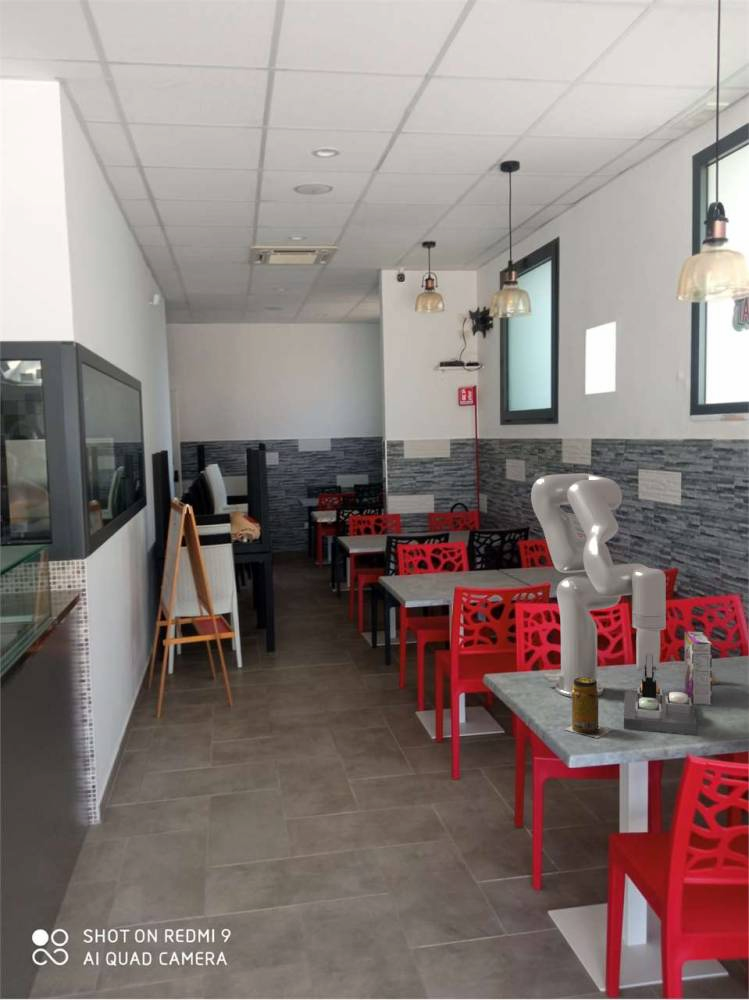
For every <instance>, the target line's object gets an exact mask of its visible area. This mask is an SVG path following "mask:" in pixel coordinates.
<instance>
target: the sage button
mask: <svg viewBox="0 0 749 1000" xmlns="http://www.w3.org/2000/svg"><path fill="white" fill-rule="evenodd" d="M639 709H644V710H656V711H657V710H658V701H657V700H656V699H654V698H640V699H639Z"/></svg>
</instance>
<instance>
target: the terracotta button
mask: <svg viewBox="0 0 749 1000" xmlns="http://www.w3.org/2000/svg"><path fill="white" fill-rule="evenodd" d="M640 686H641V693H642V682H641V684H640ZM659 686H660V685H659V684H658V683H656V694H658V688H660V687H659Z"/></svg>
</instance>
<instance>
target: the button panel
mask: <svg viewBox="0 0 749 1000" xmlns="http://www.w3.org/2000/svg"><path fill="white" fill-rule="evenodd" d="M662 689H663V688H662V687H658V694H656V698H654V699H656V700H657V701H658V710H657V711H656V710H644V709H639V699H640V698H644V697H642V693H641V685H640V686H638V685H637V691H624V706H623V729H624V730H625V729H627V730H635V731H645V730H649V731H648V732H656V731H662V732H661V733H667V732H671V733H670V734H677V733H683V734H682V735H688V734H693V735H692V736H697V733H698V732H697V731H698V724H697V720H696V714H695V710H694V704H692V699H691V697H690V696H688V704H687V705H686V704H673V703H669V694H664V693H663V690H662Z"/></svg>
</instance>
